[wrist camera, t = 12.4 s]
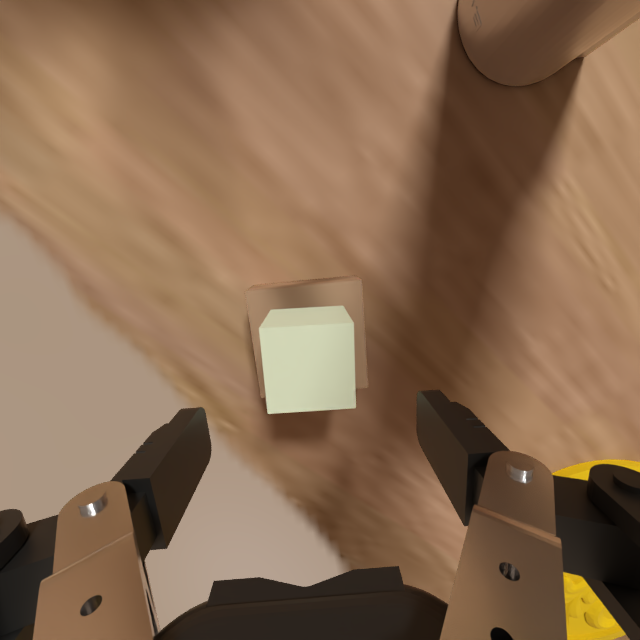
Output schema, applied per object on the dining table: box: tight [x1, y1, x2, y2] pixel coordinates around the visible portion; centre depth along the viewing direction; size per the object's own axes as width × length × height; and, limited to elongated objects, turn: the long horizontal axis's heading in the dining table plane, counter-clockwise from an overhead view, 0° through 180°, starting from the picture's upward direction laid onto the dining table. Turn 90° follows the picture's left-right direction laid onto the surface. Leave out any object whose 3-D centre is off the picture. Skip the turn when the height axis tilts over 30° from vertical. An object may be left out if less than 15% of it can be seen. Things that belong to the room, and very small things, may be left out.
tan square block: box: [245, 276, 368, 398], centre depth 23 cm, size 8×8×4 cm
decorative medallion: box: [552, 459, 640, 640], centre depth 31 cm, size 24×24×2 cm
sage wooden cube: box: [259, 306, 356, 414], centre depth 19 cm, size 5×5×5 cm
